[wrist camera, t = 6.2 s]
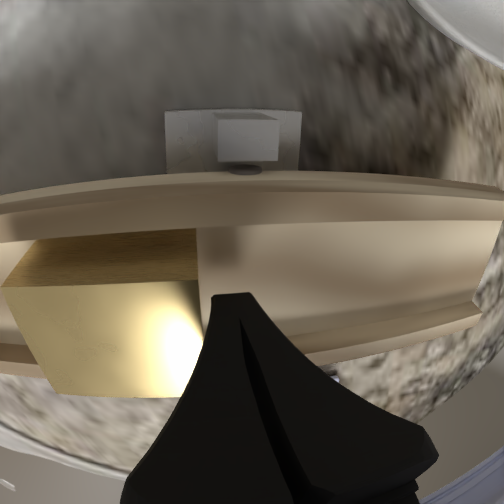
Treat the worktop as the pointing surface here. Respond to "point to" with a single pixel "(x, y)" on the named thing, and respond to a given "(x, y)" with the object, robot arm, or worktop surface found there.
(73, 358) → the block
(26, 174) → the worktop surface
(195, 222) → the beam
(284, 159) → the stand
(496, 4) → the spoon rest
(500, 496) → the robot arm
